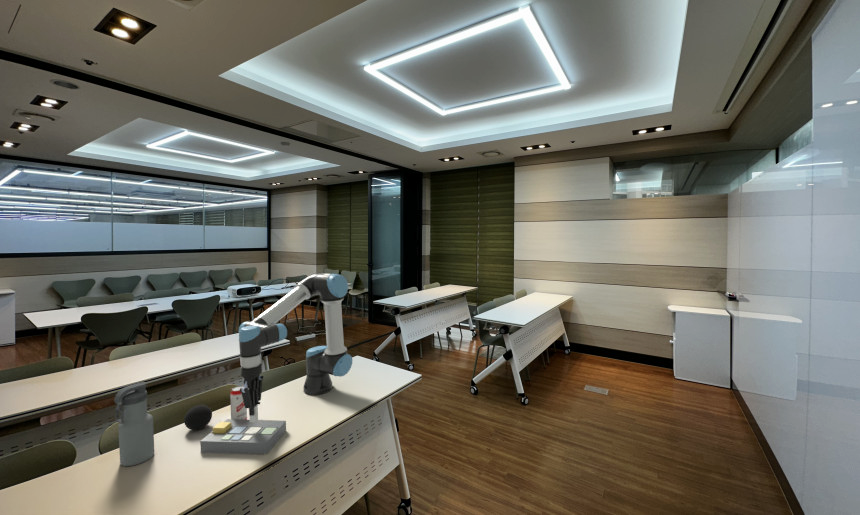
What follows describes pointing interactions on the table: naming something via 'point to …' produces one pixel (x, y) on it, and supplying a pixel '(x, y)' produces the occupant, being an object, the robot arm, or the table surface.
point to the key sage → (268, 431)
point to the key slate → (237, 430)
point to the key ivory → (253, 430)
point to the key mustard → (222, 427)
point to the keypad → (244, 438)
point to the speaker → (198, 417)
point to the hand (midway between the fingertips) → (254, 421)
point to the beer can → (237, 404)
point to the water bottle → (134, 425)
